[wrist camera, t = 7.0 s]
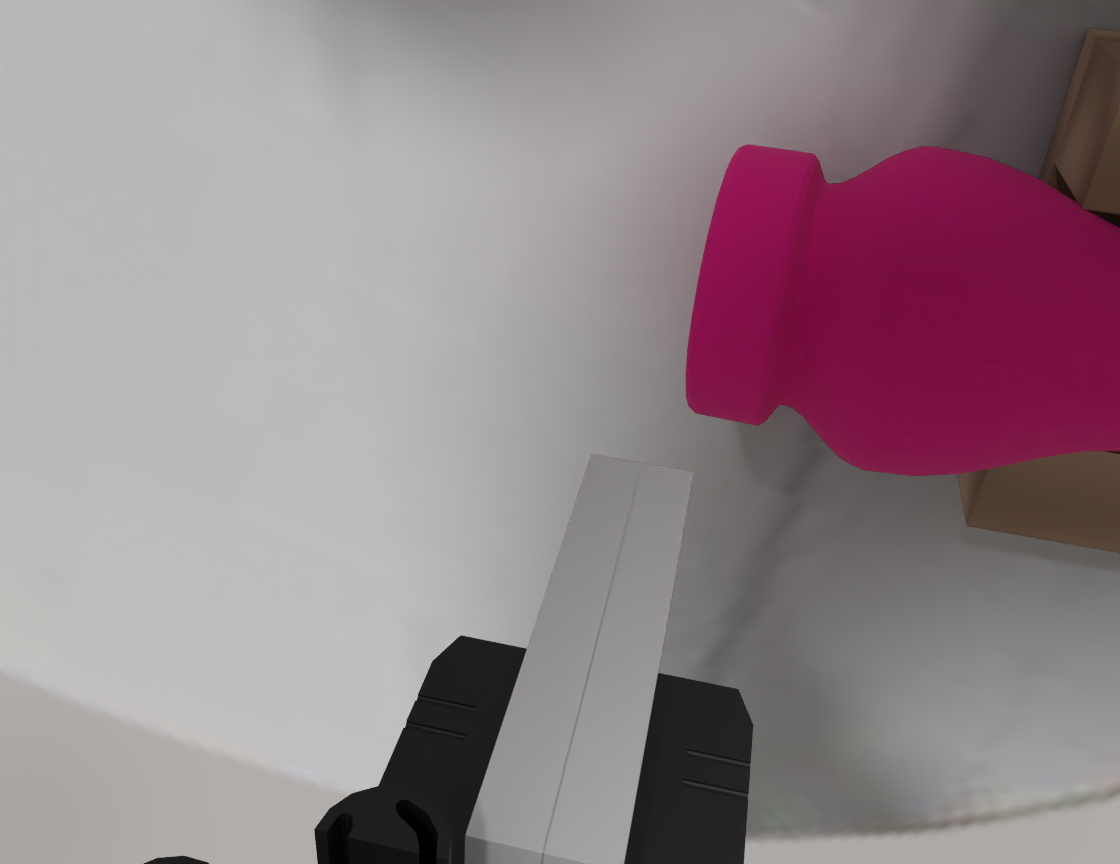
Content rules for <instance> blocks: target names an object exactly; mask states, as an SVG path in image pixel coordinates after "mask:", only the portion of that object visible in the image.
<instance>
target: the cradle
mask: <svg viewBox="0 0 1120 864" xmlns="http://www.w3.org/2000/svg"><path fill="white" fill-rule="evenodd" d="M1039 179H1040V180H1041V181H1043V182H1045V183H1046V184H1048V185H1049V186H1051V187H1053V188H1054V189H1056V190H1058V191H1059V192H1061V193H1063V194H1064V195H1066V196H1067V197H1069V198H1071V199H1072V200H1074V201H1076V202H1077V203H1079V205H1080V206H1081V207H1082V209H1085V210H1090V211H1092V212H1093V213H1095V214H1097V215H1098V216H1100V217H1102V218H1103V219H1105V220H1107V221H1109V222H1110V223H1112V224H1114V225H1116V226H1118V227H1120V32H1119V31H1110V30H1101V29H1092V28H1089V29H1088V32H1087V35H1086V38H1085V41H1084V44H1083V47H1082V50H1081V53H1080V56H1079V59H1078V62H1077V65H1076V68H1075V71H1074V74H1073V77H1072V80H1071V83H1070V86H1069V89H1068V92H1067V95H1066V98H1065V101H1064V104H1063V107H1062V110H1061V113H1060V116H1059V119H1058V122H1057V125H1056V128H1055V131H1054V134H1053V137H1052V140H1051V143H1050V146H1049V149H1048V152H1047V155H1046V158H1045V161H1044V164H1043V167H1042V170H1041V173H1040V176H1039ZM957 477H958V482H959V487H960V492H961V498H962V503H963V508H964V513H965V518H966V523H967V526H970V527H976V528H982V529H987V530H993V531H999V532H1004V533H1010V534H1016V535H1022V536H1027V537H1033V538H1039V539H1044V540H1050V541H1056V542H1061V543H1067V544H1073V545H1078V546H1084V547H1090V548H1096V549H1101V550H1107V551H1113V552H1118V553H1120V451H1085V452H1077V453H1070V454H1063V455H1055V456H1048V457H1042V458H1037V459H1033V460H1028V461H1024V462H1019V463H1015V464H1010V465H1006V466H1001V467H995V468H990V469H984V470H978V471H973V472H967V473H962V474H957Z"/></svg>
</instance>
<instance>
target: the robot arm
mask: <svg viewBox="0 0 1120 864" xmlns="http://www.w3.org/2000/svg"><path fill="white" fill-rule="evenodd" d="M692 478H693V471H687V470H681V469H675V468H670V467H664V466H658V465H653V464H647V463H641V462H635V461H630V460H624V459H618V458H613V457H607V456H601V455H595V454H591V457H590V460H589V463H588V466H587V469H586V472H585V475H584V478H583V481H582V484H581V487H580V490H579V493H578V496H577V499H576V502H575V505H574V508H573V511H572V514H571V518H570V521H569V524H568V527H567V530H566V533H565V536H564V539H563V542H562V545H561V548H560V551H559V554H558V557H557V560H556V563H555V566H554V569H553V572H552V575H551V578H550V581H549V584H548V587H547V590H546V593H545V596H544V599H543V602H542V605H541V608H540V611H539V614H538V617H537V620H536V623H535V626H534V629H533V632H532V635H531V638H530V641H529V644H528V647H527V649H525V648H520V647H515V646H510V645H505V644H501V643H496V642H491V641H486V640H481V639H476V638H471V637H466V636H460V637H458V638H457V639H456V640H455V641H454V642H453V643H452V644H451V645H450V646H449V647H447V648H446V649H445V650H444V651H443V652H442V653H441V654H440V655H439V656H438V657H437V658H435V659H434V660H433V661H432V663H431V666H430V668H429V670H428V673H427V675H426V677H425V680H424V682H423V684H422V687H421V689H420V691H419V694H418V699H417V701H415V703H414V705H413V707H412V710H411V712H410V714H409V717H408V719H407V723H406V727H405V728H403V731H402V733H401V735H400V737H399V740H398V742H397V744H396V747H395V749H394V751H393V754H392V756H391V758H390V761H389V763H388V765H387V768H386V770H385V772H384V774H383V777H382V779H381V781H380V784H379V786H377V787H374V788H370V789H366V790H363V791H359V792H356V793H352V794H351V795H349V796H348V797H346V798H345V799H343V800H342V801H340V802H339V803H337V804H336V805H334V806H333V807H331V808H330V809H329V810H328V812H327V813H326V814H325V816H324V817H323V819H322V820H321V821H320V822H319V824H318V825H317V827H316V828H315V840H316V850H317V860H318V864H744V850H745V836H746V822H747V807H748V800H747V799H748V792H749V778H750V762H751V749H752V734H753V724H752V721H751V719H750V716H749V714H748V711H747V709H746V707H745V704H744V702H743V699H742V697H741V695H740V692H739V690H738V689H735V688H730V687H725V686H720V685H715V684H710V683H705V682H700V681H695V680H690V679H685V678H680V677H675V676H670V675H665V674H661V673H659V669H660V663H661V658H662V652H663V646H664V641H665V635H666V629H667V624H668V618H669V612H670V607H671V601H672V595H673V589H674V583H675V577H676V571H677V566H678V560H679V554H680V548H681V542H682V536H683V530H684V524H685V519H686V513H687V507H688V501H689V495H690V489H691V483H692ZM144 864H209V863H207V862H204V861H201V860H197V859H194V858H190V857H187V856H178V857H177V856H176V857H165V858H156V859H154V860H151V861H149V862H147V863H144Z"/></svg>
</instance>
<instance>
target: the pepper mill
mask: <svg viewBox="0 0 1120 864" xmlns="http://www.w3.org/2000/svg"><path fill="white" fill-rule="evenodd" d="M686 398H687V402H688V406H689V407H690V408H691V409H692V410H693V411H694V412H695V413H697V414H702V415H707V416H712V417H717V418H722V419H727V420H732V421H737V422H742V423H747V424H752V425H757V426H759V425H760V424H762V423H763V422H765V421H766V420H767V419H768V418H769V416H770V415H771V414H772V413H773V412H774V410H775V409H776V408H777V407H778V406H779V405H786V406H788V407H791V408H793V409H794V410H796V411H797V412H798V413H799V414H801V415H802V416H803V417H804V418H805V420H806V421H807V422H808V423H809V424H810V425H811V427H812V428H813V429H814V430H815V431H816V433H817V434H818V435H819V436H820V437H821V438H822V440H823V441H824V442H825V443H826V444H827V446H828V447H829V448H830V449H831V450H832V451H833V452H835V453H836V454H837V455H838V456H839V457H840V458H841V459H843V460H845V461H846V462H848V463H850V464H851V465H853V466H856V467H858V468H860V469H863V470H867V471H875V472H884V473H893V474H901V475H910V476H925V475H946V474H962V473H967V472H973V471H978V470H984V469H990V468H995V467H1001V466H1006V465H1010V464H1015V463H1019V462H1024V461H1028V460H1033V459H1037V458H1042V457H1048V456H1055V455H1063V454H1070V453H1077V452H1085V451H1120V227H1118V226H1116V225H1114V224H1112V223H1110V222H1109V221H1107V220H1105V219H1103V218H1102V217H1100V216H1098V215H1097V214H1095V213H1093V212H1092V211H1090V210H1085V209H1082V207H1081V206H1080V205H1079V203H1077V202H1076V201H1074V200H1072V199H1071V198H1069V197H1067V196H1066V195H1064V194H1063V193H1061V192H1059V191H1058V190H1056V189H1054V188H1053V187H1051V186H1049V185H1048V184H1046V183H1045V182H1043V181H1041V180H1040V179H1038V178H1036V177H1034V176H1032V175H1029V174H1027V173H1024V172H1022V171H1020V170H1017V169H1015V168H1013V167H1010V166H1008V165H1005V164H1003V163H1001V162H998V161H996V160H993V159H991V158H988V157H983V156H978V155H974V154H969V153H965V152H960V151H955V150H951V149H946V148H941V147H930V146H921V147H917V148H913V149H909V150H906V151H904V152H901V153H899V154H896V155H894V156H891V157H889V158H888V159H886V160H884V161H882V162H881V163H879V164H877V165H875V166H874V167H872V168H870V169H869V170H867V171H865V172H863V173H862V174H860V175H858V176H857V177H855V178H853V179H850V180H848V181H845V182H842V183H831V184H828V183H827V182H826V181H825V179H824V176H823V173H822V169H821V166H820V162H819V160H818V159H817V157H816V156H815V154H812V153H805V152H798V151H791V150H784V149H777V148H770V147H763V146H756V145H749V144H747V145H745V146H743V147H740V148H738V150H737V151H736V153H735V154H734V156H733V157H732V159H731V161H730V163H729V165H728V168H727V170H726V173H725V176H724V179H723V182H722V185H721V188H720V191H719V194H718V198H717V201H716V205H715V209H714V212H713V216H712V220H711V224H710V228H709V232H708V236H707V240H706V245H705V250H704V254H703V259H702V264H701V269H700V274H699V278H698V284H697V290H696V296H695V302H694V307H693V313H692V320H691V327H690V334H689V341H688V349H687V363H686Z"/></svg>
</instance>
